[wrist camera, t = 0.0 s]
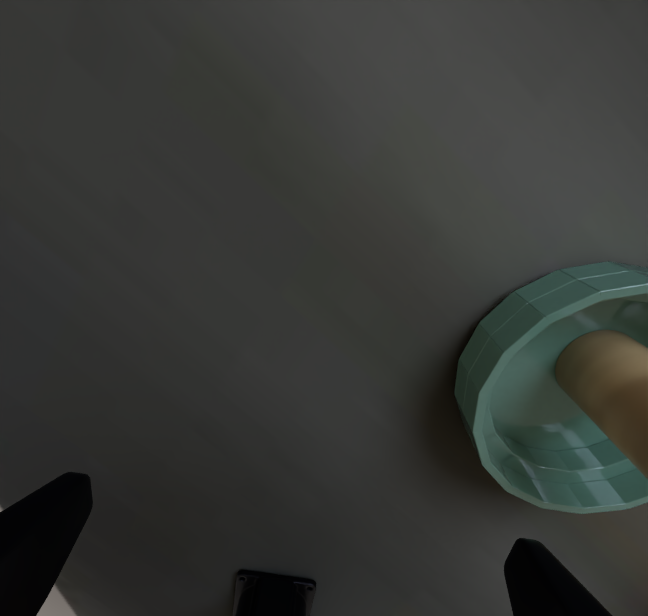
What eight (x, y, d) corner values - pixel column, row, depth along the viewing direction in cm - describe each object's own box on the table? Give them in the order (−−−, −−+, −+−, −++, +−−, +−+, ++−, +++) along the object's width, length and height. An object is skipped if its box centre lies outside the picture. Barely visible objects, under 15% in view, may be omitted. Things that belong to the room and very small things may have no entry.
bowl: (629, 475, 26) (678, 528, 22) (426, 444, 25) (441, 493, 22) (750, 283, 20) (840, 312, 17) (494, 240, 20) (529, 260, 16)
